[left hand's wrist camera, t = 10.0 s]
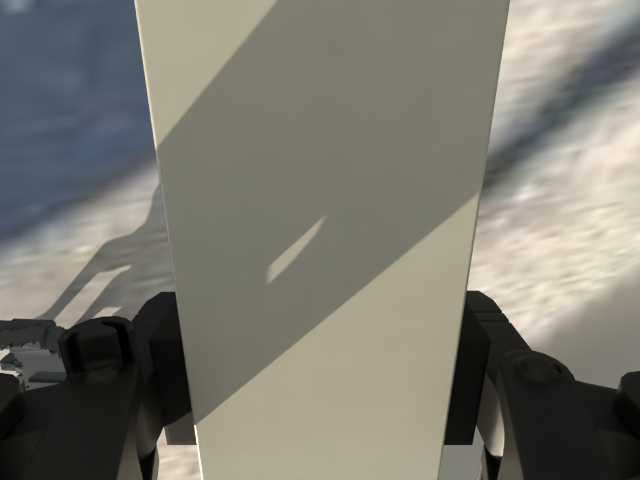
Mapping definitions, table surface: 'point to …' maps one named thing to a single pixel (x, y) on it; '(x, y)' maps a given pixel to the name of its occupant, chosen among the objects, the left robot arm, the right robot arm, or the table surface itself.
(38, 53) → the table surface
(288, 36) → the post
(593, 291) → the table surface
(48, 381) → the toy
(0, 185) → the table surface
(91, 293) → the table surface
